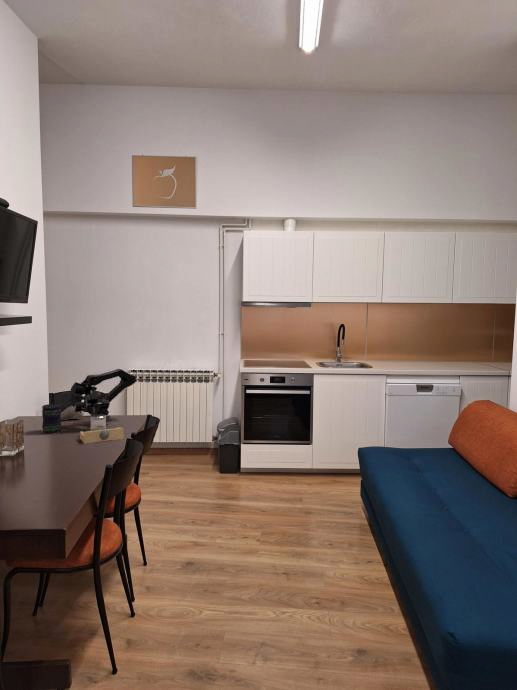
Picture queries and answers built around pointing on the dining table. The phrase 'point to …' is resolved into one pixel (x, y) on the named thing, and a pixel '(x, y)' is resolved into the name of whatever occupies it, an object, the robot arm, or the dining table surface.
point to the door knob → (98, 422)
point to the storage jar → (51, 418)
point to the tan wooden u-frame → (102, 435)
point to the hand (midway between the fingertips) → (94, 418)
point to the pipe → (70, 413)
